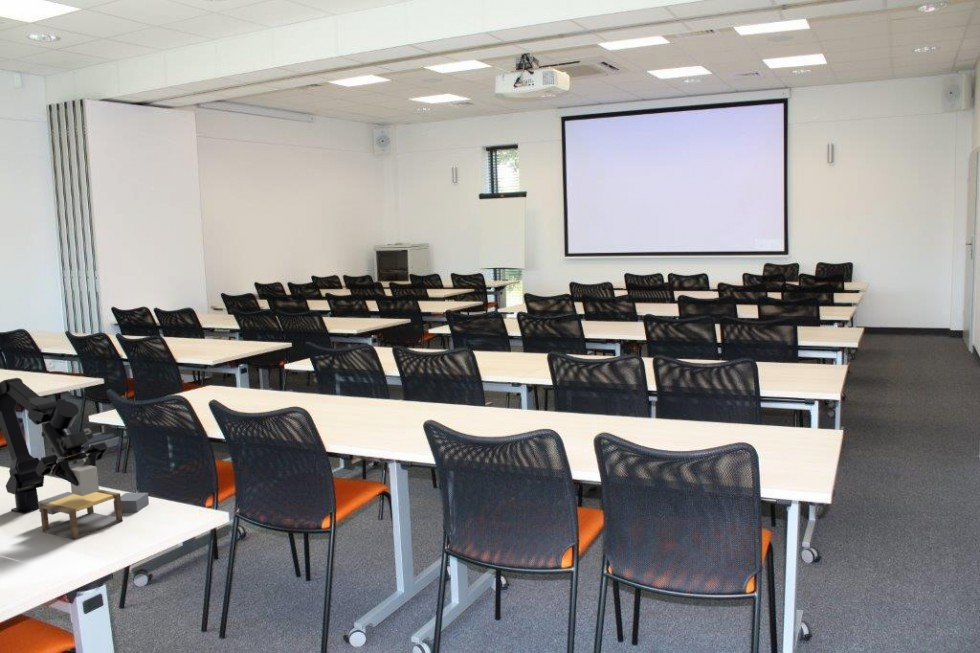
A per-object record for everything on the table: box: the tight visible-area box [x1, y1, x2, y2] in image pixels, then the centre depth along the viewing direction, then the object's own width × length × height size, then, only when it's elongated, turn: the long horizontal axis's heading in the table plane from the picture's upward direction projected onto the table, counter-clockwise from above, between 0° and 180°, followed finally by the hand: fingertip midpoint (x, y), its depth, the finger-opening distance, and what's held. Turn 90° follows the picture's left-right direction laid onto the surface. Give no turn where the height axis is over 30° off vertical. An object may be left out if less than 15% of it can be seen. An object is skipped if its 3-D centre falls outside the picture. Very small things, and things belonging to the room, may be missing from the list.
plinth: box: [113, 492, 150, 513], centre depth 246 cm, size 7×7×4 cm
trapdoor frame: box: [40, 488, 124, 540], centre depth 232 cm, size 14×15×8 cm
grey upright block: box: [70, 464, 100, 496], centre depth 230 cm, size 5×5×7 cm
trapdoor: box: [38, 491, 114, 516], centre depth 233 cm, size 18×12×4 cm, turn 61°
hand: (87, 482), depth 229 cm, fingers closed on grey upright block, 5 cm apart
